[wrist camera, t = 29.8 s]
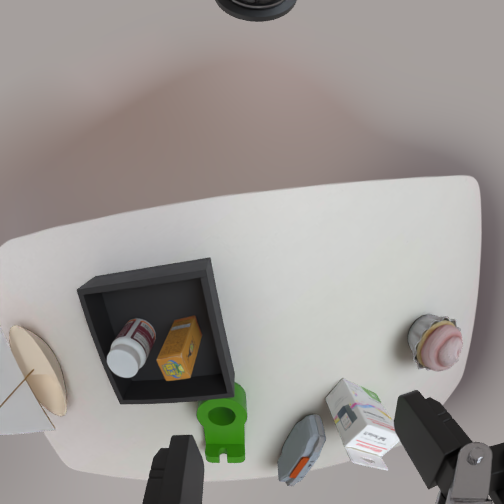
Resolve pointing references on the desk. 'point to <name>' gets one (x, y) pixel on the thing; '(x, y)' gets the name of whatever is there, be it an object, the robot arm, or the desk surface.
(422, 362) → the cupcake
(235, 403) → the green ring bracket
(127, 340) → the pill bottle
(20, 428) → the toy sailboat
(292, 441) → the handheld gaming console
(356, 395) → the ink box
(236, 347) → the desk surface
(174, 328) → the supplement box
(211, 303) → the tray
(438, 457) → the robot arm
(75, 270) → the desk surface
